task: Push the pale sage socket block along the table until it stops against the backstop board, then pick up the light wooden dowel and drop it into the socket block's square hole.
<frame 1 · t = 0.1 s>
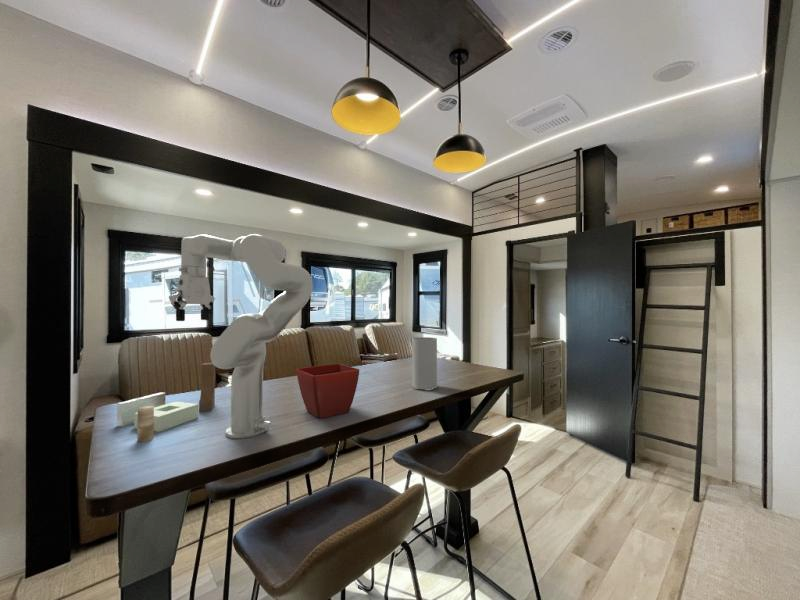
hand: (193, 320, 116), 37 cm above the table, tool pointing down, fingers open, 9 cm apart
plant pot: (327, 412, 128), on the table
wooden dowel: (145, 440, 101), on the table
wooden block: (207, 409, 132), on the table
socket block: (167, 415, 116), point 3 cm above the table, slide at 0.0 cm
backstop board: (142, 419, 119), on the table
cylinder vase: (424, 388, 165), on the table
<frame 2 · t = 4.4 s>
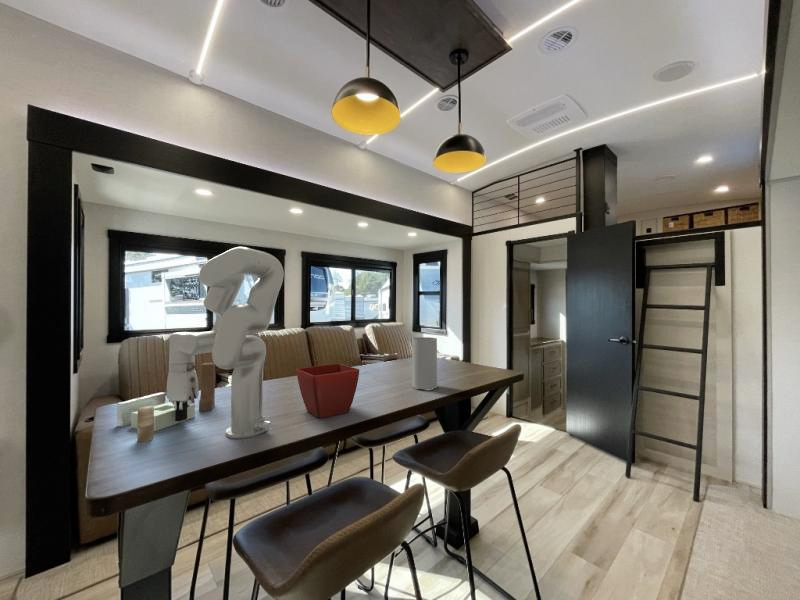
hand: (181, 420, 114), 2 cm above the table, tool pointing down, fingers closed
socket block: (164, 415, 116), point 3 cm above the table, slide at 1.7 cm, touching gripper
everything else where it was.
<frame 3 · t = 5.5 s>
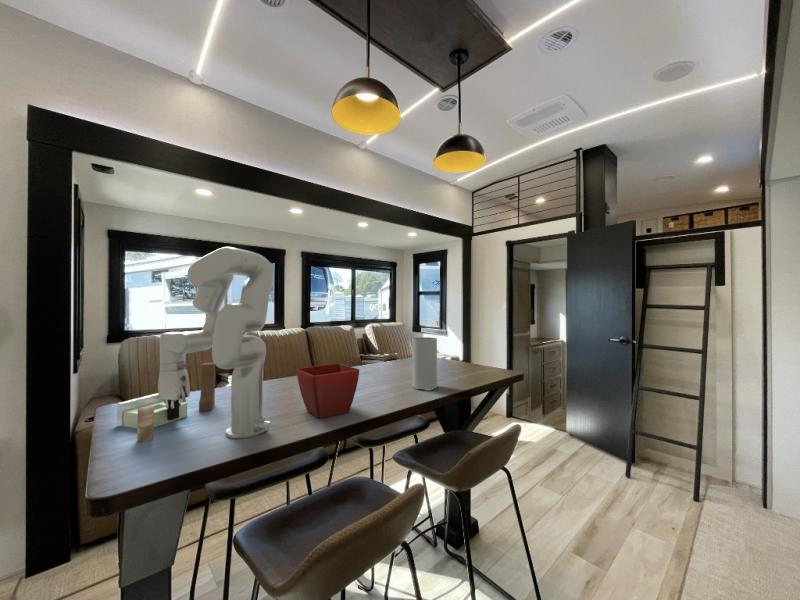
hand: (173, 418, 115), 2 cm above the table, tool pointing down, fingers closed
socket block: (156, 414, 117), point 3 cm above the table, slide at 5.4 cm, touching gripper
everything else where it was.
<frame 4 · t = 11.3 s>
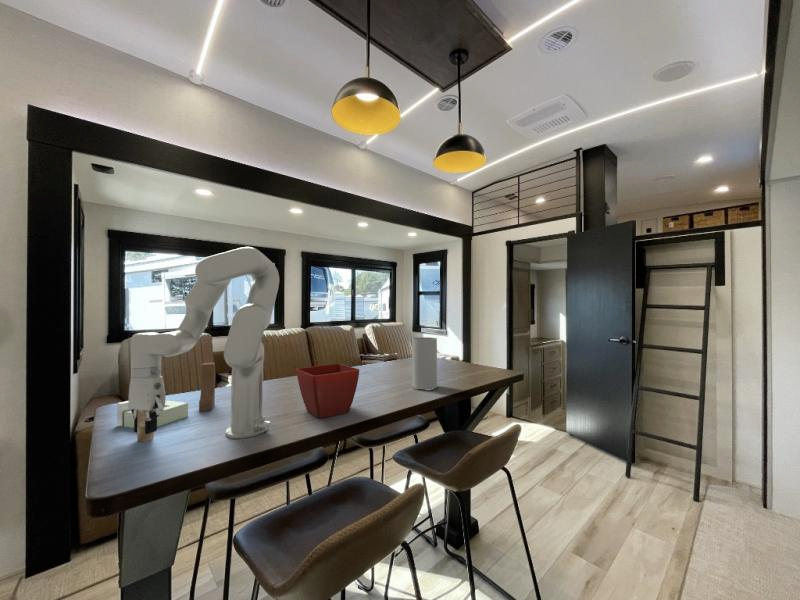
hand: (145, 431, 101), 3 cm above the table, tool pointing down, fingers closed on wooden dowel, 4 cm apart
wooden dowel: (145, 440, 101), on the table, touching gripper
socket block: (157, 414, 117), point 3 cm above the table, slide at 5.0 cm
everything else where it was.
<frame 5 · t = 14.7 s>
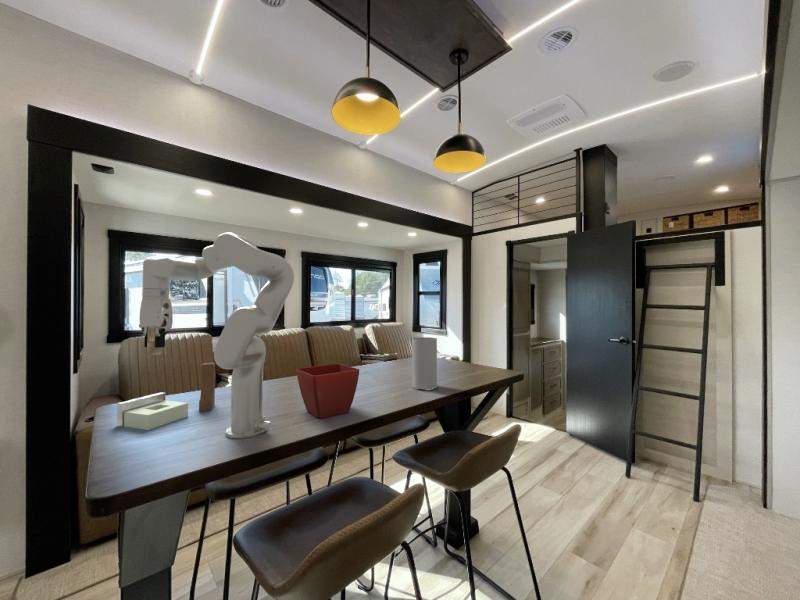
hand: (154, 346, 113), 28 cm above the table, tool pointing down, fingers closed on wooden dowel, 4 cm apart
wooden dowel: (154, 354, 113), point 25 cm above the table, touching gripper
everything else where it was.
when the fingers open (6 cm above the table, at t = 18.3 s): wooden dowel drops 2 cm, resting on socket block.
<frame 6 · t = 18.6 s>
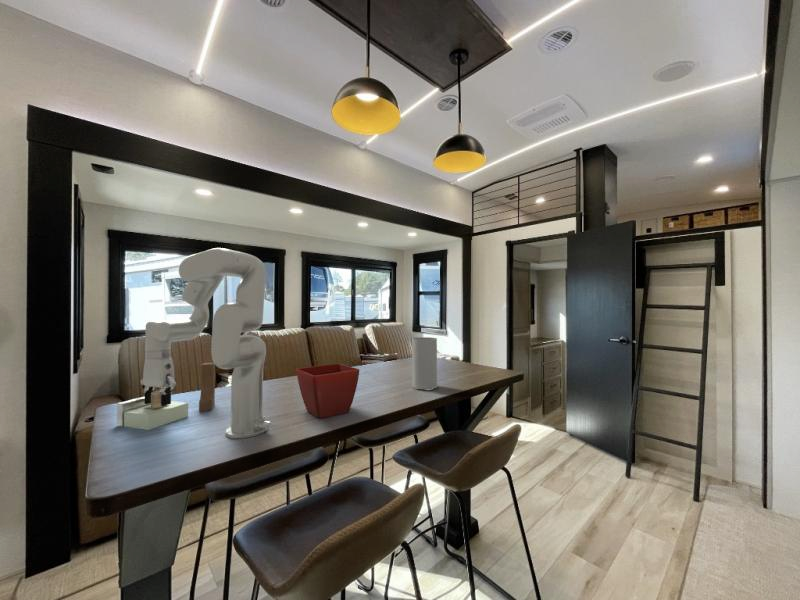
hand: (157, 403, 117), 6 cm above the table, tool pointing down, fingers open, 7 cm apart
wooden dowel: (157, 419, 117), point 1 cm above the table, touching socket block
socket block: (157, 414, 117), point 3 cm above the table, slide at 5.0 cm, touching wooden dowel
everything else where it was.
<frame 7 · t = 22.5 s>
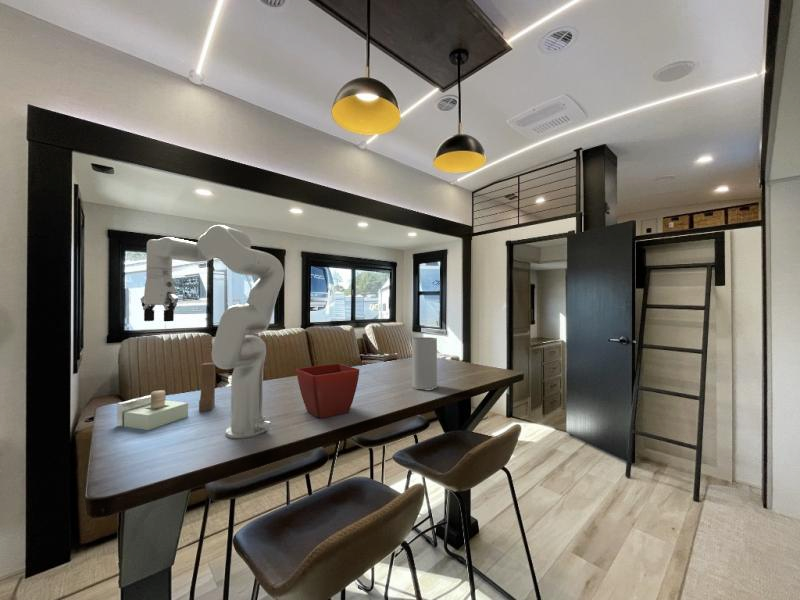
hand: (158, 321, 118), 36 cm above the table, tool pointing down, fingers open, 9 cm apart
nothing on the table moved.
at the end: socket block slide at 5.0 cm; wooden dowel 0.2 cm from the target spot, point 0.8 cm above the table; wooden dowel tilted 0° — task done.
